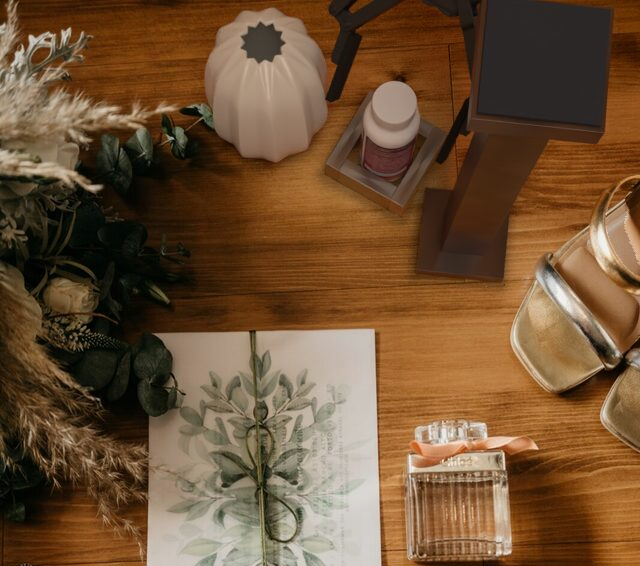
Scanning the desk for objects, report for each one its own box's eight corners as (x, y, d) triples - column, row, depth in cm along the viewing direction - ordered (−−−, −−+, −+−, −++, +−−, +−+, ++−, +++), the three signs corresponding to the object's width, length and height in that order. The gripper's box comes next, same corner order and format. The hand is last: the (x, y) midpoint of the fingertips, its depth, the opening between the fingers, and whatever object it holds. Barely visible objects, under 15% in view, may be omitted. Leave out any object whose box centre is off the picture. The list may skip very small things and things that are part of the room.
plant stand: (508, 201, 85) (614, 7, 54) (501, 283, 84) (605, 133, 53) (424, 192, 85) (482, -7, 54) (415, 273, 84) (470, 118, 53)
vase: (319, 182, 85) (319, 114, 71) (203, 164, 85) (182, 93, 72) (337, 73, 86) (341, -13, 73) (223, 56, 86) (205, -34, 73)
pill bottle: (420, 171, 85) (435, 115, 74) (373, 193, 85) (381, 140, 74) (396, 126, 85) (408, 64, 74) (350, 147, 85) (354, 89, 74)
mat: (609, 12, 54) (610, 9, 54) (599, 127, 53) (601, 125, 53) (487, -1, 54) (488, -4, 54) (476, 114, 53) (477, 111, 53)
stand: (444, 144, 85) (448, 132, 83) (401, 217, 84) (403, 207, 82) (368, 102, 86) (370, 89, 83) (324, 174, 85) (325, 163, 82)
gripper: (611, -39, 66) (492, 178, 80) (378, -165, 67) (300, 70, 81) (607, -39, 61) (479, 194, 74) (352, -177, 62) (273, 78, 75)
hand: (386, 130), depth 78 cm, fingers open, 13 cm apart
